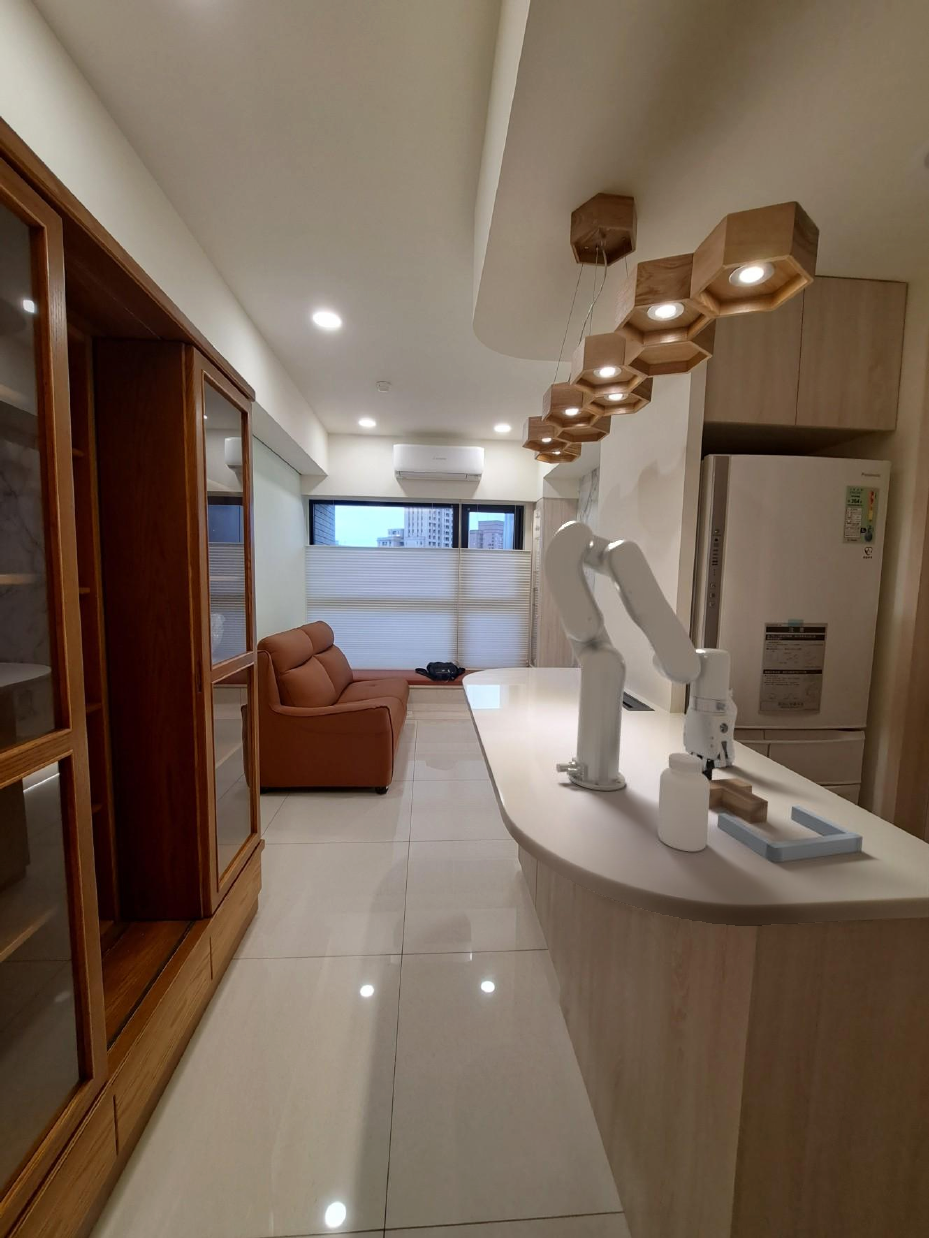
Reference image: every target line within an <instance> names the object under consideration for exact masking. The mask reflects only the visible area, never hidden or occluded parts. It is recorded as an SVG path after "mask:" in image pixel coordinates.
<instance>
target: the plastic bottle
mask: <svg viewBox="0 0 929 1238" xmlns="http://www.w3.org/2000/svg"><path fill="white" fill-rule="evenodd" d="M732 697H734V695H733V688H731V687H729V690H728V706H729V710H728V711H727V714H729V715H730V719H731V726H732V757H731V759H725V761H726V766H727V767H729V766H732V765H733V763H735V758H736V753H735V748H734V746H735V745H734V731H735V723H736V720H737V716H738V715H737V714H738V708H737V705H736V704H735V701H734V699H732ZM708 761H710V760H708Z"/></svg>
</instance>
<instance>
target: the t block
mask: <svg viewBox="0 0 929 1238" xmlns="http://www.w3.org/2000/svg"><path fill="white" fill-rule="evenodd" d="M709 784H710V794H709V809H715V808H723V809H725V810H726V811H727V812H729V813H732V814H733V815H734V816H736V817H738V818H739V819H742V820H743V821H745V822H747V823H749V824H758V823H765V822H767V821H768V820H767V819H768V807H769V806H768V805H769V801H768V800H766V799H764V798H762V797H760V796H758V795H756V794H754V793H753V785H752V784H751V783H748V782H746V781H744V780H742V779H740V778H738V777H734V778H722V779H712V780H709Z"/></svg>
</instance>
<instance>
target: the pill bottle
mask: <svg viewBox="0 0 929 1238" xmlns="http://www.w3.org/2000/svg"><path fill="white" fill-rule="evenodd" d="M659 777H660V778H659V790H658V791H659V792H658V794H659V796H658V808H657V809H658V811H657V836H658V839H659V840H660V841H661V842H662V843H664V844H665V845H667V846H669V847H671V848H672V849H673V848H674V849H676V850H679V851H685V852H699V851H703V850H704V849H705V848H706V846H707V841H708V828H709V827H708V826H709V811H710V810H709V809H710V808H709V794H710V784H709V780H708V779H707V777H706V776H705V775H703V774H702V760H701V759H700V758H699V757H697V756H694V755H691V754H689V753H687V752H686V753H684V752H673V753H670V754H669V755H668V767H667V768H664V769H663V770H662V772H661V773H660V776H659Z"/></svg>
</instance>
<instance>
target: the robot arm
mask: <svg viewBox="0 0 929 1238" xmlns="http://www.w3.org/2000/svg"><path fill="white" fill-rule="evenodd" d="M543 563H544V564H543V568H544V569H543V571H544V577H545V580H546V583H547V586H548V589H549V591H550V593H551V596H552V599H553V602H554V604H555V606H556V607H555V608H556V609H557V610H558V614H559V616H560V623H561V626H562V630H563V631H564V634H565V637H566V638H567V641H568V643H569V645H570V648H571V651H572V652H573V654H574V657H575V659H576V661H577V664H578V666H579V669H580V683H579V684H580V686H579V696H578V697H579V698H578V717H577V719H578V721H577V722H578V723H577V740H576V741H577V742H576V756H575V757H572V758H571V761H569V762H568V763H563V762H562V763H557V764H556V767H555V768H556V769H555V770H556V771H557V773H566V775H567V776H568V777H569V779H570V781H571V782H573V783H574V784H576V785H578V786H581V787H583V788H586V789H591V790H595V791H604V792H605V791H607V792H610V791H616V790H620V789H623V788H624V786H625V785H626V778H625V776H624V775H623V774H622V773H621V772H620V771H619V770H620V752H621V733H622V714H623V713H622V712H623V700H624V692H625V691H624V690H625V686H626V684H625V683H626V678H627V664H626V662H625V658H624V656H623V655H622V653H621V652H620V650H619V649H617V648H616V647H615V646H614V644H613V643H612V640H611V638H610V636H609V633H608V631H607V629H606V627H605V626H606V625H605V619H604V617H605V616H604V614H603V612H602V610H601V609H600V607H599V605H598V603H597V601H596V599H595V597H594V595H593V592H592V590H591V588H590V587H591V586H590V585H589V582H588V579H587V577H586V574H585V571H584V569H586V570H589V571H591V572H594V573H596V574H599V575H602V576H606V577H609V578H610V580H611V582H612V584H613V585H614V588H615V590H616V592H617V594H618V596H619V598H620V601H621V603H622V605H623V606H624V608H625V610H626V613H627V614H628V616H629V617H630V619H631V621H632V622H634V623H635V625H636V626H637V627H638V628H639V629H640V630H641V632H643V634H644V635H645V637H646V638H647V640H648V641H649V643H650V645H651V647H652V648H653V650H654V653H653V655H652V665H653V667H654V669H655V671H656V672H657V673H658V674H659V675H661V676H662V677H663V678H665V679H667V680H669V682H672V683H673V684H676V685H680V686H684V685H685V686H686V685H689V684H690V687H689V704H688V707H687V710H686V713H685V719H684V724H683V736H682V740H683V741H682V742H683V746H684V747H685V752H686V753H687V754H691V755H694V756H697V757H699V758H700V759H701V760H702V774H703V775H705V776H706V777H707V779H708V780H713V771H714V770H716V768H726V761H725V759H731V757H732V726H731V719H730V715H729V714H727V711H728V710H729V706H728V690H729V688H730V673H731V655H730V653H729V652H728V651H726V650H724V649H719V648H704V647H703V648H695V646H694V644H693V642H692V640H691V637H690V636H689V634H688V632H687V630H686V628H685V626H684V625H683V623H682V621H681V620H680V619H679V618H678V616H677V615H676V613H675V611H674V609H673V608H672V606H671V604H670V603H669V602H668V599H666V597H665V595H664V593H663V591H662V589H661V587H660V585H659V583H658V582H657V581H658V580H657V579H656V576H655V575H654V572H653V571H652V568H651V567H650V564H649V562H648V560H647V558H646V557H645V554H644V552H643V551H642V548H641V547H640V546H639V545H638V544H637V543H636V542H634V541H633V540H630V539H629V540H628V539H622V540H621V539H620V540H617V541H613V540H610V539H606V538H604V537H601V536H599V535H596V534H594V533H593V530H592V528H591V527H590V526H589V525H588V524H587V523H585V522H584V521H580V520H571V521H567V522H565V523H564V524H563V525H562V526H561V527H559V529H557V531H556V532H555V533H554V535H552V537H551V539H550V541H549V543H548V545H547V547H546V550H545V554H544V560H543ZM708 760H710V761H708Z"/></svg>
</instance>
